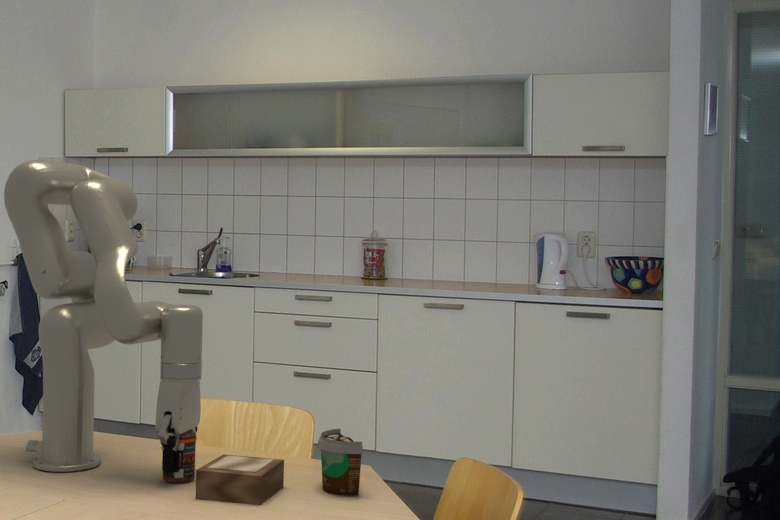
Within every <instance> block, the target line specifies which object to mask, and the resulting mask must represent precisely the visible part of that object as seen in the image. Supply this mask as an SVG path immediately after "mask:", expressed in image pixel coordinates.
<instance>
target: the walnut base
mask: <svg viewBox="0 0 780 520" xmlns="http://www.w3.org/2000/svg"><path fill="white" fill-rule="evenodd" d="M284 473H285V459H280V458H279V459H278V458H270V457H268V458H267V457H257V456H247V455H237V454H235V455H234V454H233V455H232V454H222V455H220V456H218V457H216V458H215V459H213V460H211V461H210V462H208V463H206V464H204V465H203V466H201V467H199V468H197V469H195V499H197V500H208V501H209V500H210V501H218V502H227V503H237V504H249V505H256V506H261V505H262V504H263V503H265V502H266V501H267V500H269V498H271V497H272V496H274V495H275V494H277V492H279V491H280V490H281V489H282V488H284V484H285V483H284V480H285V478H284V477H285V474H284Z"/></svg>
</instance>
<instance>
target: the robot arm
mask: <svg viewBox="0 0 780 520" xmlns="http://www.w3.org/2000/svg"><path fill="white" fill-rule="evenodd" d="M3 190H4V191H3V200H4V206H5V209H6V213H7V215H8V218H9V221H10V222H11V225H12V227H13V230H14V232H15V234H16V237H17V240H18V243H19V247H20V251H21V253H22V257H23V260H24V264H25V266H26V270H27V273H28V277H29V279H30V282H31V285H32V288H33V290H34V292H35V293H36V295H38V296H39V297H40V298H42V299H45V300H65V299H70V300H71V302H70V303H69V302H68V303H62V304H58V305H56V306H55V305H54V306H53V307H51V308H50V309H48V310H47V311H45V312H44V314H43V315H42V317H41V318H40V321H39V323H38V340H39V344H40V350H41V356H42V357H41V358H42V427H41V428H42V430H41V432H42V434H41V436H42V437H41V440H38V439H37V440H36V439H29V440H28V441H27V443H26V446H25V451H26V452H29V453H36V457H35V458H34V459H33V462H32V463H33V464H32V465H33V467H34V468H35V469H37V470H41V471H45V472H54V473H59V472H60V473H65V472H77V471H78V472H79V471H84V470H89V469H92V468H95V467H98V466H99V465H100V464H101V463H102V456H101V455H100V454H98V453H97V452H94V426H95V424H94V423H95V422H94V421H95V417H94V416H95V413H94V412H95V369H94V365H93V362H92V359H91V356H90V354H89V350H92V349H97V348H103V347H107V346H109V345H111V344H112V343H113V342H115V341H116V342H118V343H120V344H122V345H128V346H129V345H136V344H141V343H149V342H155V341H160V371H159V373H160V375H159V379H160V382H159V386H158V392H157V397H156V398H157V401H156V409H155V410H156V411H155V429H154V430H155V432H156V434H157V438H158V439H159V442H160V444H161V450H162V454H161V455H162V458H161V459H162V462H161V463H162V464H161V465H162V466H161V469H162V472H163V471H166V472H179V469H180V450H178V445H179V440H180V435H181V434H183V433H185V432H187V431H189V430H191V429H192V430H193V431H194V432H195V434H196V435H197V432H198V429H199V428H198V426H199V425H200V422H201V406H202V405H201V385H200V384H201V383H200V381H201V380H202V367H203V366H202V365H203V357H202V356H203V327H204V326H203V324H204V323H203V320H204V319H203V318H204V317H203V315H204V314H203V310H202V308H201V307H200V306H198V305H193V304H172V303H169V302H164V301H157V300H154V301H153V300H151V301H141V302H140V301H139V302H135V301H134V300H133V298H132V296H131V293H130V290H129V288H128V285H127V281H126V267H127V265H128V264H129V261H131V260H132V259H133V258H134V257H135V256H136V255H137V254H138V251H139V245H138V242H137V239H136V238H135V235H134V234H133V230H132V229H131V227H130V224H129V223H128V222H129V221H131V220H132V219H133V218H134V216H135V215H136V213H137V210H138V198H137V196H136V193H135V191H134V190H133V189H132V188H131V187H130V186H129V185H128V184H127V183H125V182H124V181H122V180H119V179H116V178H113V177H112V176H110V175H107V174H105V173H101V172H100V171H97V170H94V169H92V168H91V167H90V168H89V167H87V166H84V165H81V164H77V163H70V162H61V161H53V160H44V159H35V160H29V161H28V160H27V161H25V162H22V163H19V164H18V165H16V166H15V167H14V168H13V169H12V171H11V172H10V173H9V175H8V177H7V179H6V182H5V186H4V189H3ZM49 205H60V206H61V205H62V206H70V207H71V210H72V212H73V213H72V214H73V215H74V216H75V219H76V221H77V224H78V227H80V228H79V229H80V231H81V232H82V235H83V237H84V239H85V241H86V243H87V246H88V249H89V251H90V252H88V251H83V250H71V249H70V246H69V245H68V242H67V240H66V237H65V233H64V229H63V227H62V225H61V224H60V222H59V220H58V219H57V218H56V216H55V214H53V212H52V211H51V210H50V209H49ZM169 430H175V433H169ZM169 437H174V443H173V441H172V439H171V438H169ZM196 440H197V436H196Z"/></svg>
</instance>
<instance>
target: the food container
mask: <svg viewBox="0 0 780 520" xmlns="http://www.w3.org/2000/svg"><path fill="white" fill-rule="evenodd" d="M341 433H342V432H341V428H333V429H327V430H324V431H322V432H320V435H319V437H318V441H317V444H316V445H317V448H318V449H320V458H321V459H320V460H321V461H320V462H321V478H322V479H321V480H322V482H321V483H322V490H323V491H324V492H325V493H327V494H330V495H336V496H342V497H356V496H357V495H360V484H361V483H360V478H361V468H362V466H361V465H362V463H361V461H362V454H364V448H363V447H364V446H363V441H354V440H353V439H352V438H351V437H349V436H345V435H343V434H341Z"/></svg>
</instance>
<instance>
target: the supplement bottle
mask: <svg viewBox="0 0 780 520" xmlns="http://www.w3.org/2000/svg"><path fill="white" fill-rule="evenodd" d="M169 433H175V430H169ZM196 437H197V433H196V434H195V432H194V431H193V430H192V429H191V430H189V431H187V432H185V433H183V434H181V435H180V440H179V445H178V450H180V469H179V472H166V471H163V470H162V480H163V481H165V482H167V483H173V484H184V483H188V482H191V481H192V480H194V479H195V475H196V442H197V439H196ZM169 438H171V439H172V441H173V443H174V437H169Z"/></svg>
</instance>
